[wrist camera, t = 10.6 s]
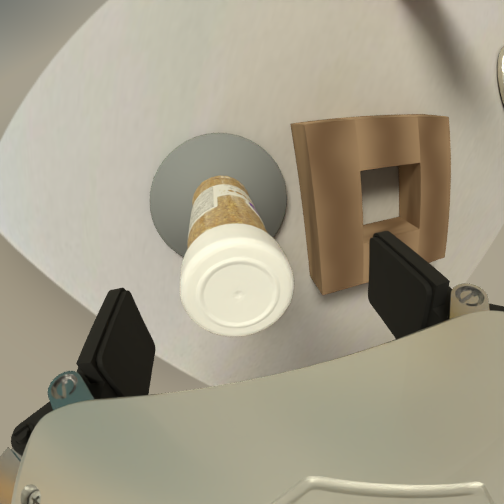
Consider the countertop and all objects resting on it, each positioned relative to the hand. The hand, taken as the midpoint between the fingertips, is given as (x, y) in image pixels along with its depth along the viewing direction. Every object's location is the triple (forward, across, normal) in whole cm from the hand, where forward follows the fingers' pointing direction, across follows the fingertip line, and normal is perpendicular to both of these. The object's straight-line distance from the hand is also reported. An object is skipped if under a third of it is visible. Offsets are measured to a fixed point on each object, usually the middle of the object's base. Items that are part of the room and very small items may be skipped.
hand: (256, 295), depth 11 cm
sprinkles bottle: (+14, +1, 0) cm, 14 cm away
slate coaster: (+15, +1, 0) cm, 15 cm away
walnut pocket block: (+15, -13, +2) cm, 20 cm away
